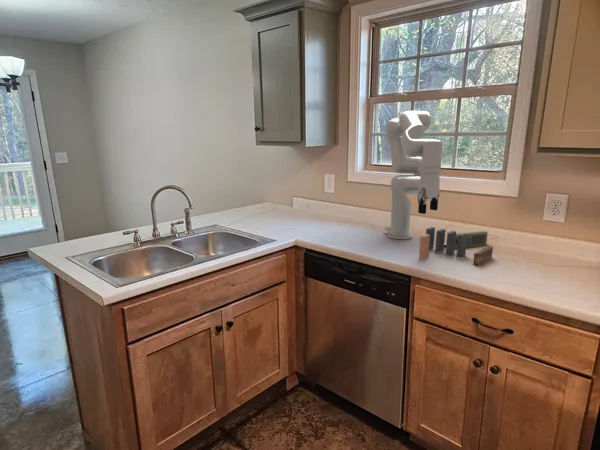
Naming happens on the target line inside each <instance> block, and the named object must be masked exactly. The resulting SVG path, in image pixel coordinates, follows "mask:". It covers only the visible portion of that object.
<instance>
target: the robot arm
mask: <svg viewBox="0 0 600 450" xmlns="http://www.w3.org/2000/svg"><path fill="white" fill-rule="evenodd" d="M398 117H399V118H393V119H390V120H388V121H386V124H385V137H386V140H387V141H386V142H387V143H388V145H389V147H390V148H389V149H390V159H391V168H392V171H393V172H394V173H395V174H398V175H395V176H393V177H392V179H391V180H390V191H391V210H390V211H391V213H390V226H389V225H385V226H384V231H388V232H387V234H386V236H387V237H388V238H390V239H392V240H393V239H394V240H410V239H412V238H413V234H412V233H411V232H410V225H411V212H412V211H411V210H412V209H411V208H412V202H411V200H410V199H409V197H408V196H407V195H417V203H418V211H417V212H418V214H422V215H425V214H427V205H428V204H427V201H428V200H430V202H429V204H430V205H429V210H430V211H438V209H439V207H438V205H439V197H440V194H441V189H440V181H441V180H440V178H441V177H440V176H441V168H442V157H443V156H442V155H443V142H442V140H439V139H434V138H422V137H423V136H424V134H425V132H426V131H427V130H428V129H429V127H431V123H432V118H431V114H430V113H429V112H428V111H425V110H407V111H404V112H402V113H401V114H400V115H399V116H398Z"/></svg>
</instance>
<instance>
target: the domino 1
mask: <svg viewBox="0 0 600 450" xmlns="http://www.w3.org/2000/svg"><path fill="white" fill-rule="evenodd" d="M419 241H420V243H419V254H418V258H419V259H418V260H425V259H427V258H428V257H429V254H430V250H429V242H430V235H429V234H426V233H425V234H424V235H420V240H419ZM424 258H425V259H424Z"/></svg>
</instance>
